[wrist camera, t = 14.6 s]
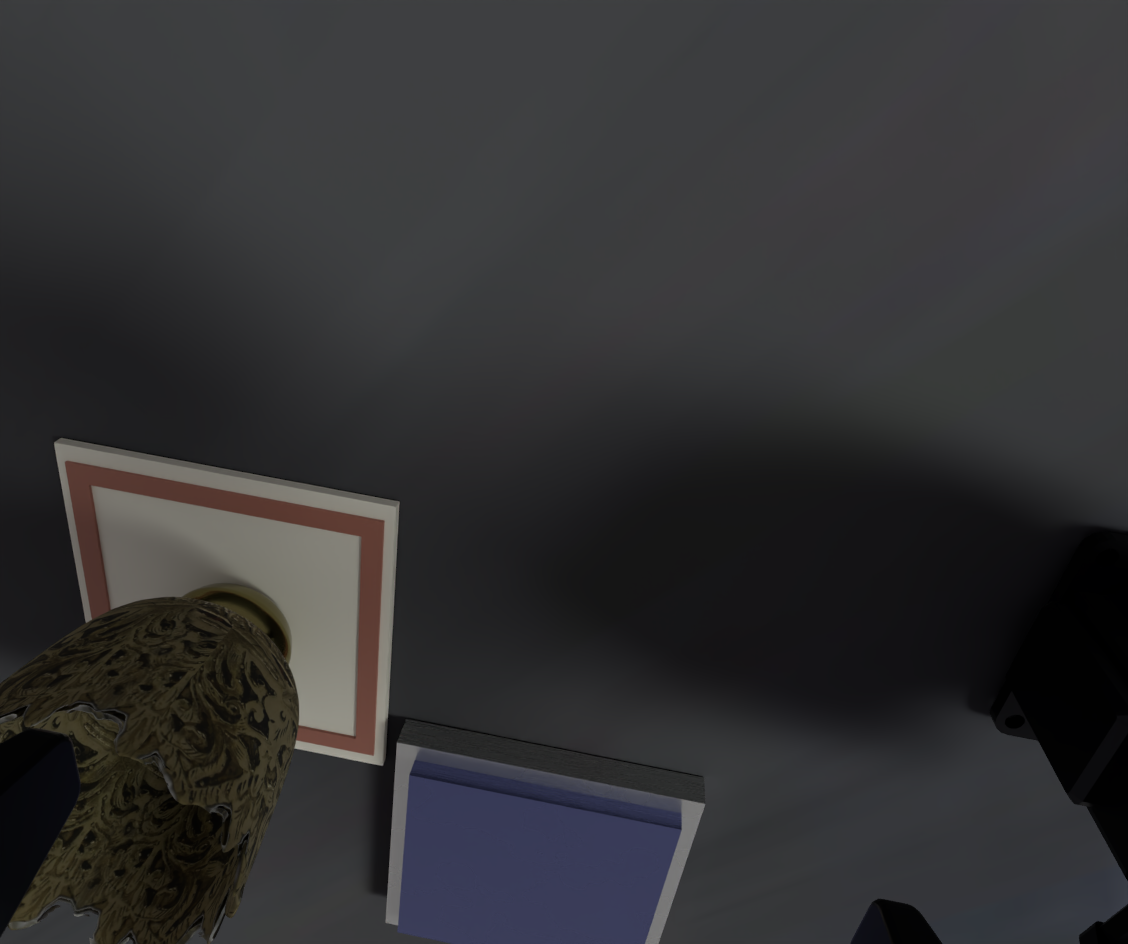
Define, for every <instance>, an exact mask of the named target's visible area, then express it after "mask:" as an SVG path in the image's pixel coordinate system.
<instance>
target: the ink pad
mask: <svg viewBox="0 0 1128 944" xmlns="http://www.w3.org/2000/svg"><path fill="white" fill-rule="evenodd" d="M704 806H705V786H704V778H703V777H698V776H693V775H688V774H683V773H677V772H672V771H667V770H662V769H657V768H652V767H647V766H642V765H637V764H632V763H627V762H622V761H617V760H612V759H607V758H602V757H597V756H592V755H587V754H582V753H577V752H572V751H567V750H562V749H557V748H552V747H546V746H541V745H536V744H531V743H526V742H521V741H516V740H511V739H506V738H501V737H496V736H491V735H486V734H481V733H476V732H471V731H466V730H461V729H456V728H451V727H446V726H441V725H436V724H431V723H426V722H421V721H416V720H410V719H406V721H405V723H404V726H403V728H402V731H401V733H400V736H399V738H398V741H397V749H396V765H395V781H394V797H393V813H392V829H391V845H390V861H389V877H388V893H387V909H386V923H389V924H394V925H398V932H399V933H404V934H409V935H413V936H418V937H423V938H428V939H433V940H437V941H442V942H447V943H452V944H658V943H659V940H660V937H661V934H662V931H663V928H664V925H665V923H666V920H667V917H668V914H669V911H670V908H671V905H672V902H673V899H674V896H675V893H676V890H677V887H678V884H679V881H680V878H681V875H682V872H683V869H684V866H685V863H686V860H687V857H688V854H689V851H690V848H691V845H692V842H693V839H694V836H695V833H696V830H697V827H698V824H699V821H700V818H701V815H702V812H703V809H704Z"/></svg>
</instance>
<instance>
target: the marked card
mask: <svg viewBox="0 0 1128 944" xmlns="http://www.w3.org/2000/svg"><path fill="white" fill-rule="evenodd" d="M54 447H55V452H56V458H57V464H58V469H59V475H60V480H61V486H62V492H63V497H64V503H65V508H66V514H67V520H68V525H69V531H70V536H71V542H72V548H73V553H74V559H75V565H76V570H77V576H78V581H79V587H80V593H81V598H82V604H83V609H84V615H85V621H86V623H87V622H89V621H90V620H92V619H94V618H96V617H98V616H100V615H102V614H104V613H106V612H108V611H110V610H112V609H114V608H117V607H120V606H123V605H126V604H129V603H132V602H135V601H139V600H144V599H151V598H159V597H182V596H183V595H185V594H187V593H188V592H190V591H193V590H195V589H198V588H200V587H203V586H206V585H210V584H215V583H233V584H238V585H242V586H245V587H248V588H251V589H253V590H255V591H257V592H259V593H261V594H262V595H264V596H265V597H267V598H268V599H269V600H271V601H272V602H273V603H274V604H275V605H276V606H277V607H278V608H279V609H280V611H281V612H282V613H283V615H284V616H285V618H286V620H287V622H288V624H289V627H290V630H291V635H292V652H291V659H290V663H289V667H290V669H291V672H292V674H293V677H294V680H295V684H296V688H297V693H298V698H299V726H298V733H297V738H296V744H295V747H294V748H296V749H301V750H306V751H311V752H316V753H321V754H326V755H331V756H336V757H340V758H345V759H350V760H355V761H360V762H365V763H370V764H375V765H380V766H383V764H384V762H385V759H386V744H387V725H388V707H389V688H390V669H391V651H392V632H393V614H394V595H395V577H396V558H397V539H398V521H399V502H400V501H394V500H389V499H384V498H378V497H373V496H368V495H362V494H357V493H352V492H346V491H341V490H336V489H330V488H325V487H320V486H314V485H309V484H304V483H299V482H293V481H288V480H283V479H277V478H272V477H267V476H261V475H256V474H251V473H245V472H240V471H235V470H229V469H224V468H219V467H213V466H208V465H203V464H197V463H192V462H187V461H182V460H176V459H171V458H166V457H160V456H155V455H150V454H144V453H139V452H134V451H128V450H123V449H118V448H112V447H107V446H102V445H96V444H91V443H86V442H81V441H75V440H70V439H65V438H60V439H58V440H57V441H55V442H54Z"/></svg>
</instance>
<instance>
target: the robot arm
mask: <svg viewBox="0 0 1128 944" xmlns="http://www.w3.org/2000/svg"><path fill="white" fill-rule="evenodd" d="M1105 549H1111V551H1110V552H1109V553H1108V554H1107V555H1105V556H1102V557H1097V555H1098V554H1099V553H1100V552H1101V551H1103V550H1105ZM990 714H991V717H992V720H993V722H994V724H995V726H996V728H997V729H998V730H999V731H1000V732H1001V733H1004V734H1007V735H1012V736H1017V737H1022V738H1027V739H1032V740H1037V741H1039V743H1040V745H1041V747H1042V749H1043V751H1044V752H1045V754H1046V756H1047V758H1048V760H1049V762H1050V764H1051V766H1052V767H1053V769H1054V771H1055V773H1056V775H1057V777H1058V779H1059V781H1060V782H1061V784H1062V786H1063V788H1064V790H1065V792H1066V793H1067V795H1068V796H1069V798H1070V800H1071V801H1072V802H1073V803H1074V804H1077V805H1082V806H1086V807H1087V808H1088V810H1089V812H1090V814H1091V816H1092V817H1093V819H1094V821H1095V823H1096V825H1097V827H1098V828H1099V830H1100V832H1101V834H1102V836H1103V837H1104V839H1105V841H1106V843H1107V845H1108V847H1109V848H1110V850H1111V852H1112V854H1113V856H1114V857H1115V859H1116V861H1117V863H1118V865H1119V867H1120V868H1121V870H1122V872H1123V874H1124V876H1125V877H1126V879H1127V880H1128V535H1124V534H1119V533H1114V532H1097V533H1094V534H1091V535H1090V536H1088V537H1087V538H1085V539H1084V540H1083V541H1082V542H1081V544H1080V545H1079V547H1078V549H1077V550H1076V552H1075V554H1074V556H1073V558H1072V560H1071V562H1070V563H1069V565H1068V567H1067V569H1066V571H1065V573H1064V574H1063V576H1062V578H1061V580H1060V582H1059V584H1058V586H1057V587H1056V589H1055V591H1054V593H1053V595H1052V597H1051V599H1050V600H1049V602H1048V604H1046V605H1045V606H1044V607H1043V608H1042V609H1041V611H1040V613H1039V615H1038V617H1037V619H1036V620H1035V622H1034V624H1033V626H1032V628H1031V630H1030V632H1029V633H1028V635H1027V637H1026V639H1025V641H1024V643H1023V645H1022V646H1021V648H1020V650H1019V652H1018V654H1017V656H1016V658H1015V659H1014V661H1013V663H1012V665H1011V667H1010V669H1009V671H1008V672H1007V674H1006V682H1005V684H1004V685H1003V687H1002V689H1001V691H1000V693H999V695H998V697H997V698H996V700H995V702H994V704H993V706H992V708H991V711H990ZM1012 715H1016V716H1015V717H1012V718H1008V717H1009V716H1012ZM80 787H81V781H80V776H79V771H78V766H77V761H76V756H75V751H74V747H73V742H72V740H71V738H70V737H69V736H68V735H67V734H64V733H60V732H55V731H50V730H45V729H40V728H33V729H28V730H25V731H23V732H21V733H19V734H17V735H15V736H13V737H11V738H10V739H8V740H6V741H4V742H2V743H0V937H1V936H2V934H3V932H4V931H5V929H6V927H7V925H8V924H9V922H10V920H11V919H12V917H13V915H14V913H15V912H16V910H17V908H18V906H19V905H20V903H21V901H22V899H23V897H24V896H25V894H26V892H27V890H28V889H29V887H30V885H31V883H32V881H33V880H34V878H35V876H36V874H37V873H38V871H39V869H40V867H41V865H42V864H43V862H44V860H45V858H46V857H47V855H48V853H49V851H50V849H51V848H52V846H53V844H54V842H55V841H56V839H57V837H58V835H59V833H60V832H61V830H62V828H63V826H64V825H65V823H66V821H67V819H68V818H69V816H70V814H71V812H72V810H73V809H74V807H75V805H76V802H77V800H78V797H79V793H80ZM1079 941H1080V944H1128V904H1127V905H1126V906H1125V907H1124V908H1122V909H1121V910H1120V911H1118V912H1117V913H1116V914H1115V915H1113V916H1112V917H1111V918H1109V919H1108V920H1107V921H1106V922H1104V923H1103V922H1099V921H1097V922H1095V923H1094V924H1093V925H1092V926H1090V927H1089V928H1088V929H1086V930H1085V931H1084V932H1083V933H1081V934H1080V935H1079ZM851 944H942V942H941V941H940V940H939V938H938V937H937V935H936V934H935V933H934V931H933V930H932V928H931V927H930V926H929V924H928V923H927V921H926V920H925V918H924V917H923V916H922V914H921V913H920V912H919V911H918V910H917V909H916V908H914V907H913V906H911V905H908V904H905V903H900V902H895V901H890V900H885V899H877V900H875V901H873V902H872V904H871V905H870V907H869V908H868V910H867V912H866V914H865V916H864V918H863V920H862V922H861V924H860V926H859V927H858V929H857V931H856V933H855V935H854V937H853V939H852V941H851Z"/></svg>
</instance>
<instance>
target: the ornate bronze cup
mask: <svg viewBox="0 0 1128 944" xmlns="http://www.w3.org/2000/svg"><path fill="white" fill-rule="evenodd" d="M291 652H292V635H291V630H290V627H289V624H288V622H287V620H286V618H285V616H284V615H283V613H282V612H281V611H280V609H279V608H278V607H277V606H276V605H275V604H274V603H273V602H272V601H271V600H269V599H268V598H267V597H265V596H264V595H262V594H261V593H259V592H257V591H255V590H253V589H251V588H248V587H245V586H242V585H238V584H233V583H215V584H210V585H206V586H203V587H200V588H198V589H195V590H193V591H190V592H188V593H187V594H185V595H183V596H182V597H159V598H151V599H144V600H139V601H135V602H132V603H129V604H126V605H123V606H120V607H117V608H114V609H112V610H110V611H108V612H106V613H104V614H102V615H100V616H98V617H96V618H94V619H92V620H90V621H89V622H87V623H85V624H84V625H82V626H80V627H79V628H77V629H76V630H74V631H72V632H71V633H69V634H68V635H66V636H65V637H63V638H62V639H60V640H59V641H58V642H56V643H55V644H53V645H52V646H50V647H49V648H48V649H46V650H45V651H44V652H42V653H41V654H39V655H38V656H37V657H35V658H34V659H33V660H31V661H30V662H29V663H27V664H26V665H25V666H23V667H22V668H20V669H19V670H18V671H16V672H15V673H14V674H12V675H11V676H10V677H8V678H7V679H6V680H4V681H3V682H2V683H0V743H2V742H4V741H6V740H8V739H10V738H11V737H13V736H15V735H17V734H19V733H21V732H23V731H25V730H28V729H33V728H40V729H45V730H50V731H55V732H60V733H64V734H67V735H68V736H69V737H70V738H71V740H72V742H73V747H74V751H75V756H76V761H77V766H78V771H79V776H80V781H81V787H80V793H79V797H78V800H77V802H76V805H75V807H74V809H73V810H72V812H71V814H70V816H69V818H68V819H67V821H66V823H65V825H64V826H63V828H62V830H61V832H60V833H59V835H58V837H57V839H56V841H55V842H54V844H53V846H52V848H51V849H50V851H49V853H48V855H47V857H46V858H45V860H44V862H43V864H42V865H41V867H40V869H39V871H38V873H37V874H36V876H35V878H34V880H33V881H32V883H31V885H30V887H29V889H28V890H27V892H26V894H25V896H24V897H23V899H22V901H21V903H20V905H19V906H18V908H17V910H16V912H15V913H14V915H13V917H12V919H11V920H10V922H9V924H8V925H7V926H8V927H9V929H11V930H19V929H24V928H27V927H30V926H32V925H33V924H36V923H39V922H41V921H39V920H42V919H44V918H46V917H47V916H48V913H50V912H52V911H54V910H55V908H58V907H60V906H59V905H56V906H52V905H53V904H55V903H56V902H58V901H62V902H66V903H70V904H71V906H72V908H73V910H74V913H75V914H74V915H75V916H76V917H78V916H82V915H86V916H89V915H87V914H82V913H85V912H92V913H94V914H97V915H99V917H98V923H97V928H96V930H95V932H94V933H93V939H91V938H89V939H90V943H91V944H125V943H127V942H128V941H129V940H130V939H131V940H132V941H133V944H185V943H186V942H188V941H189V940H190V939H191V938H192V936H193V935H194V933H195V932H196V931H197V930H198V929H200V928H201V930H202V932H199V933H198V934H200V935H201V936H199V937H202V938H204V939H205V940H206V941H207V944H210V943H211V942H212V941H213V939H214V938H215V937H216V935H217V933H218V931H219V929H220V926H221V924H222V921H223V919H224V917H225V915H226V916H227V917H229V918H232V917H233V916H234V914H235V913H236V911H237V909H238V907H239V905H240V902H241V898H242V894H243V890H244V887H245V884H246V881H247V878H248V876H249V873H250V871H251V868H252V866H253V863H254V860H255V858H256V855H257V853H258V850H259V848H260V845H261V842H262V840H263V837H264V835H265V832H266V829H267V827H268V824H269V822H270V819H271V816H272V814H273V811H274V808H275V806H276V803H277V800H278V798H279V795H280V792H281V790H282V787H283V784H284V781H285V778H286V775H287V772H288V769H289V766H290V762H291V759H292V755H293V751H294V747H295V744H296V738H297V733H298V726H299V698H298V693H297V688H296V684H295V680H294V677H293V674H292V672H291V669H290V667H289V663H290V659H291ZM50 906H52V907H51V908H50V909H48V908H49V907H50ZM46 909H48V910H47V911H46V912H45V913H44V914H43V915H42V916H41V914H42V913H43V912H44V911H45V910H46ZM40 916H41V918H40V919H38V918H39V917H40ZM133 936H134V938H132V937H133ZM134 939H135V940H134Z"/></svg>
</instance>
